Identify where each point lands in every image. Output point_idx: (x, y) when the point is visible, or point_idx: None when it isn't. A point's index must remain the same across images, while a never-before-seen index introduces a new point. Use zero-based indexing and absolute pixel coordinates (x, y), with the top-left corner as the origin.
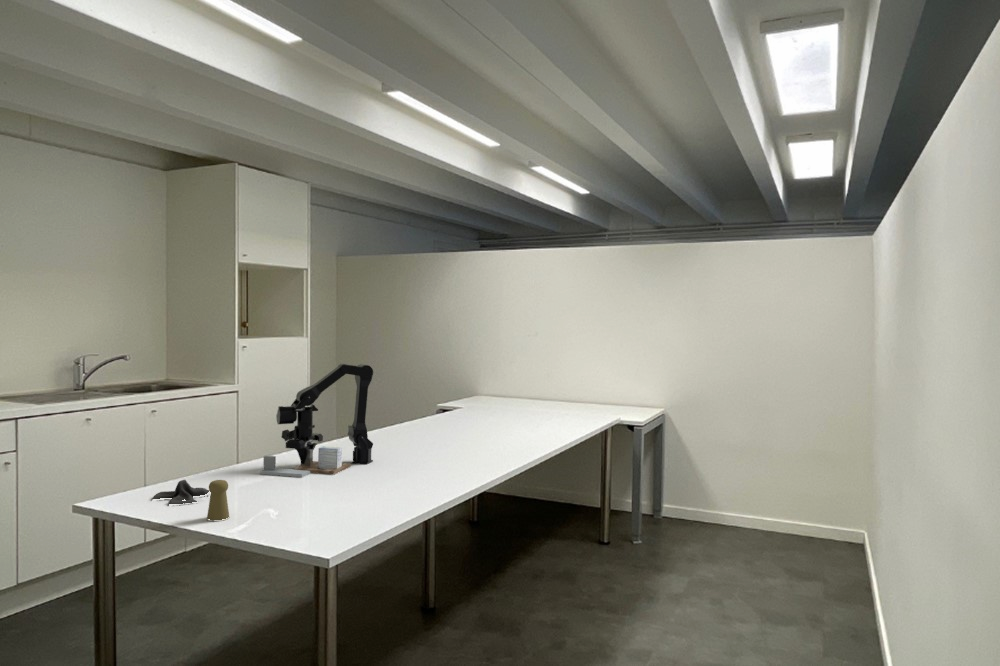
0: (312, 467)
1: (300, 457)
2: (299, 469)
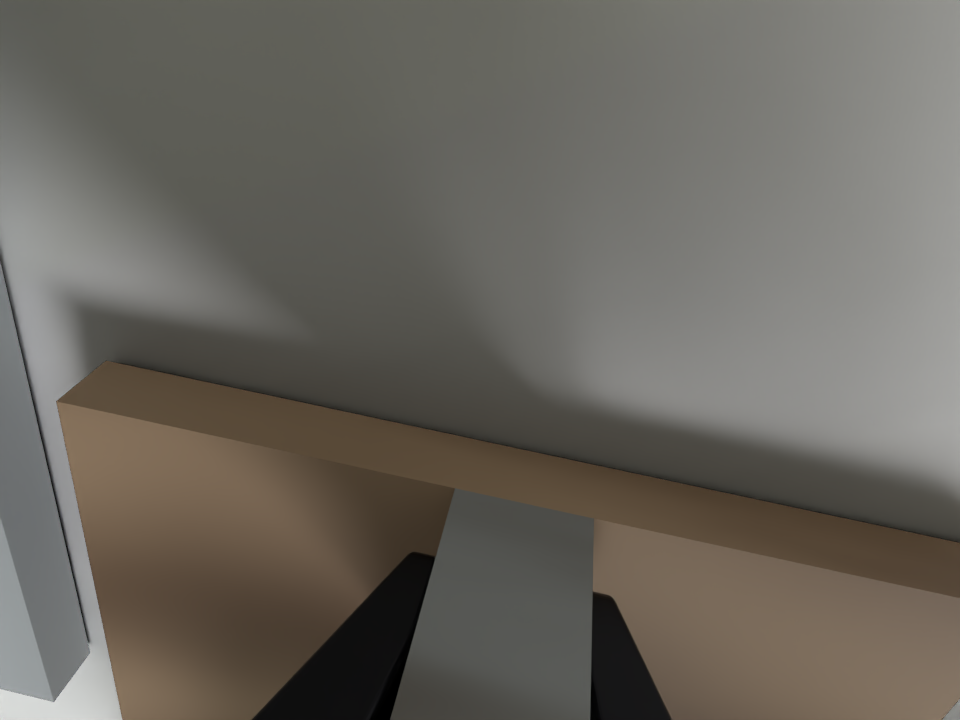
0: None
1: (295, 696)
2: (95, 529)
